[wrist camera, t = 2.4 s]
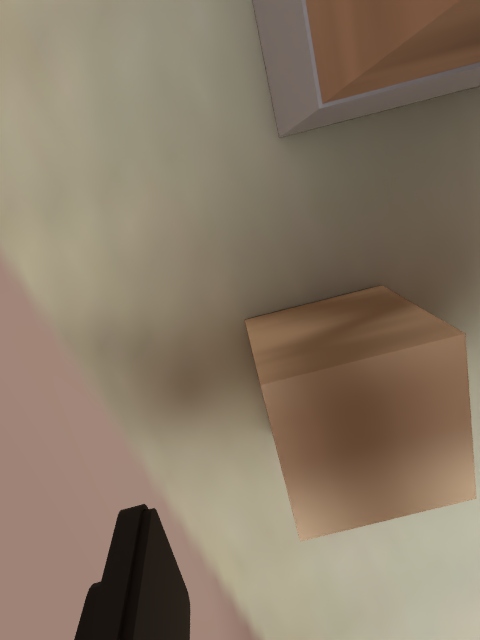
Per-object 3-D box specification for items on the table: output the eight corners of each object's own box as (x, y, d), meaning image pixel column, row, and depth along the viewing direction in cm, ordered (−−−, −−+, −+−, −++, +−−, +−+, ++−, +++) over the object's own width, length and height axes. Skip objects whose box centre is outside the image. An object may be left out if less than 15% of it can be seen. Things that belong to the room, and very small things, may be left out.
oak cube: (382, 285, 14) (465, 333, 10) (398, 405, 16) (476, 498, 11) (244, 320, 14) (260, 384, 10) (274, 436, 16) (300, 541, 11)
